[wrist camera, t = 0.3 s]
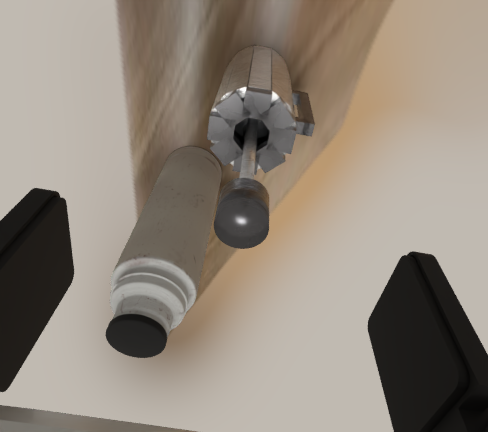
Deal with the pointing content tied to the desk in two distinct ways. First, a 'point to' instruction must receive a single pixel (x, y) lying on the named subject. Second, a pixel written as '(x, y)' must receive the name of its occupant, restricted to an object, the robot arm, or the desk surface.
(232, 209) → the plunger
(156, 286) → the thermos bottle
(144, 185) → the desk surface
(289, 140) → the press pot
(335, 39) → the desk surface
